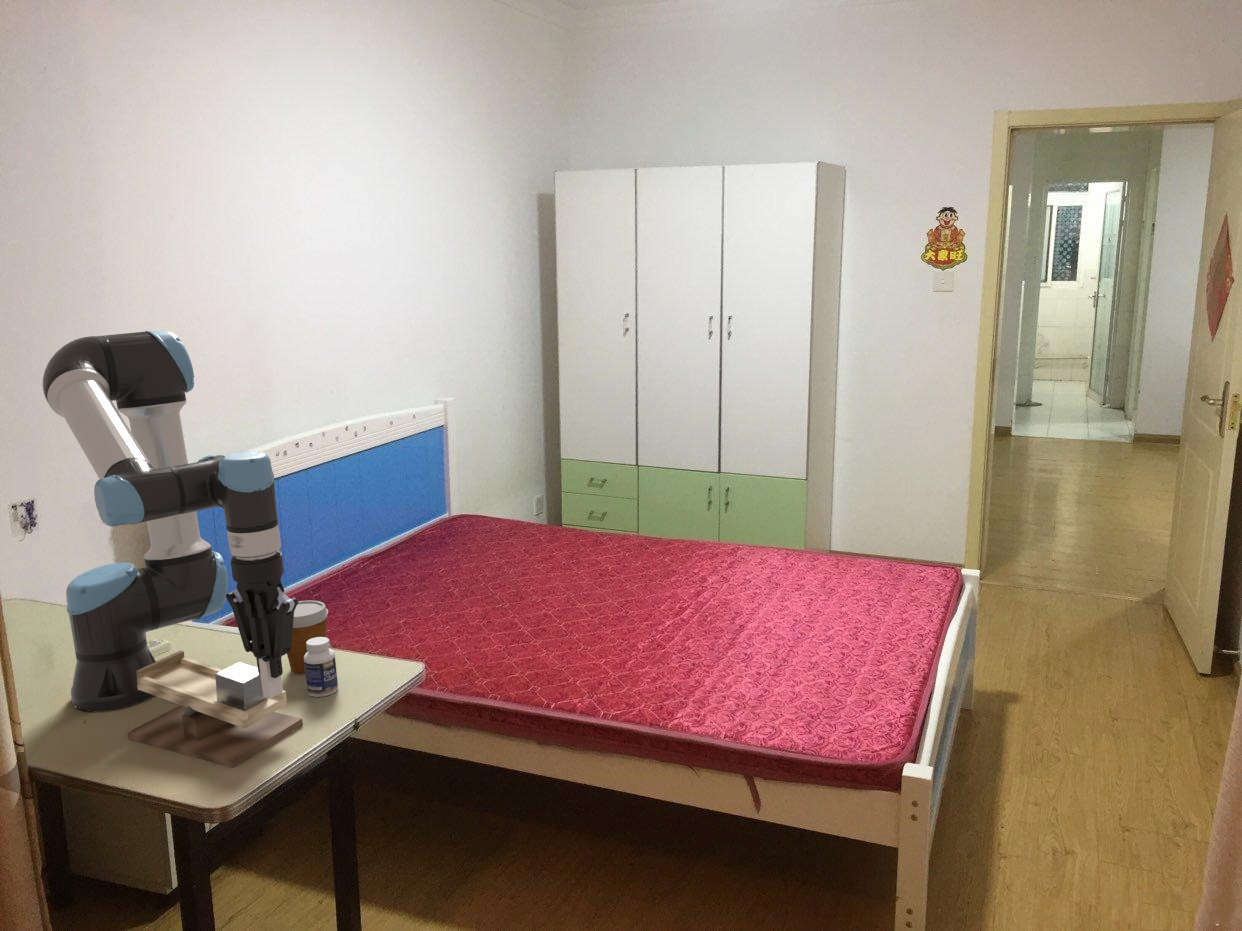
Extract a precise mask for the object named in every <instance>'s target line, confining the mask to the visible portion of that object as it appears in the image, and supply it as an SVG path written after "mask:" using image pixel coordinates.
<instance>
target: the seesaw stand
mask: <svg viewBox="0 0 1242 931" xmlns="http://www.w3.org/2000/svg"><path fill="white" fill-rule="evenodd" d="M185 708H186V707H185V706H182V705H177V706H176V707H174V708H172V709H170V710H168V711H166V712H164V713H163V714H160V715H158V716H156V717H155V718H152V719H151V720H149V721H147V722H144V723H143V724H141V725H139V726H137V727H135V728H133V729H131V730H129V731H128V732H127V738H128V740H131V741H134V742H138V743H142V744H145V745H149V746H153V747H157V748H160V749H164V750H167V751H171V752H175V753H178V754H182V755H186V756H190V757H194V758H197V759H201V760H205V761H207V762H208V761H209V762H213V763H215V764H220V765H224V766H227V767H230V768H236V767H237V766H240V765H241V764H243V763H244V762H245V761H247V760H249V759H251V758H253V757H254V756H255V755H257V754H258V753H260V752H262V751H263V750H265V749H266V748H268V747H270V746H272V745H273V744H275V743H276V742H277V741H280V740H281V739H283V738H284V737H286V736H287V734H288V735H289V734H291V733H293V732H294V731H296V730H297V729H299V728H300V726H301V727H302V726H303V725H304V723H303V722H304V721H303V718H301V717H297V716H293V715H288V714H284V713H280V712H276V711H274V712H272V713H271V714H269V715H267V716H266V717H264V718H262V719H260V720H259V721H257V722H255V723H254V724H252V725H250V726H248V727H247V728H242V727H239V726H237V725H234V724H231V723H228V722H226V721H223V720H220V719H217V718H215V717H212V716H209V715H206V714H204V713H201V712H198V711H197V712H195V713H194V714H192V715H190V716H187V715H186V714H185V712H184V709H185ZM295 729H296V730H295ZM293 730H294V731H293ZM292 731H293V732H292ZM290 732H291V733H290ZM285 735H286V736H285ZM282 737H283V738H282ZM279 739H280V740H279ZM271 744H272V745H271Z"/></svg>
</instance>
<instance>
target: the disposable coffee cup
mask: <svg viewBox="0 0 1242 931" xmlns="http://www.w3.org/2000/svg"><path fill="white" fill-rule="evenodd" d="M328 614H329V609H328V608H327V607H326V604H325V603H324V602H322V601H320V600H319V601H318V600H301V601H300V600H298V604H297V606H296V609H295V611H294V619H293V631H292V643H291V651H290V652H289V653H287V654H286V655H287V658H288V663H289V667H290V668H289V669H290V672H292V673H293V672H294V674H296V673H298V674H297V675H305V666H304V655H305V654H306V653H307V652H308V651H307V648H306V642H307V641H308V640H309V639H312V638H316V637H326V638H327V618H328Z"/></svg>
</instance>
